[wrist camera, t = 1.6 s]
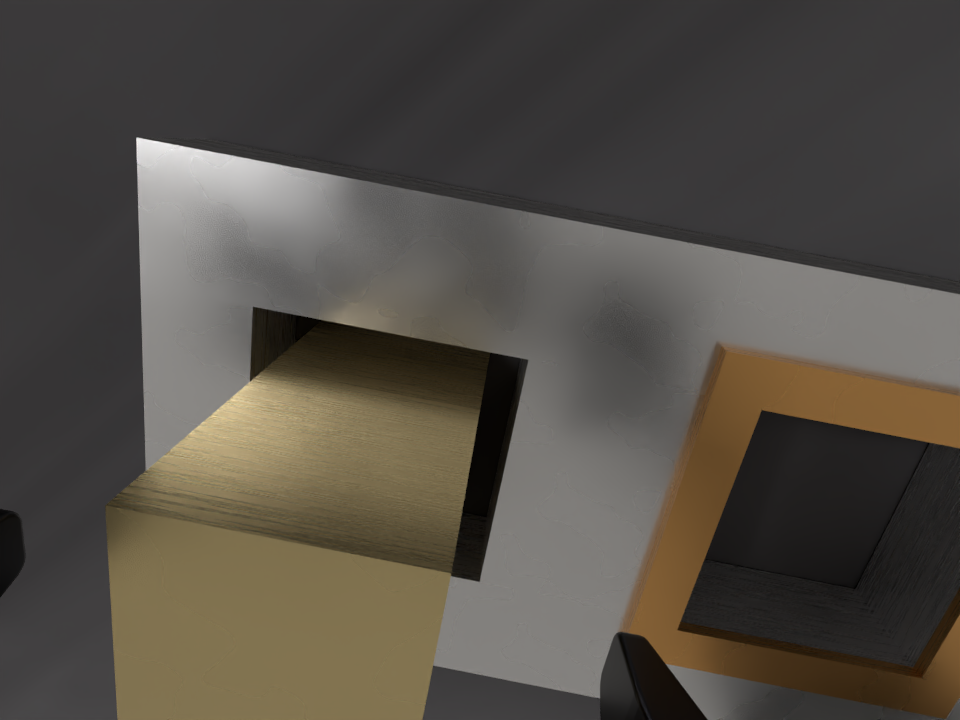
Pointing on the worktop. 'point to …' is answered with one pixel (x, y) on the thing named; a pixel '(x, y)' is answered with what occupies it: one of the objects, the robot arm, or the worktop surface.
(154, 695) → the brass peg
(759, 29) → the worktop surface
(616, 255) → the rail plate
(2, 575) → the robot arm
